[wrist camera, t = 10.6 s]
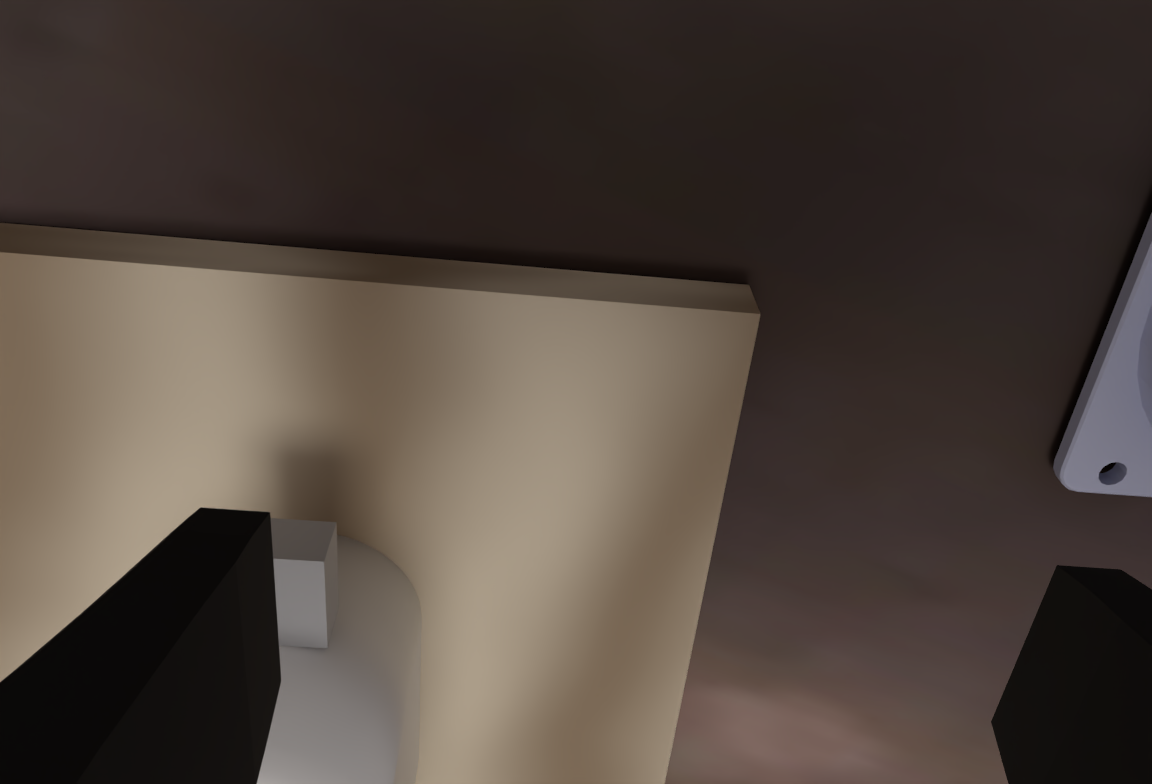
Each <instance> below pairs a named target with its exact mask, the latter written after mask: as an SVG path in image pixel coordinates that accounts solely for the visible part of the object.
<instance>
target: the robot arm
mask: <svg viewBox="0 0 1152 784" xmlns="http://www.w3.org/2000/svg"><path fill="white" fill-rule="evenodd" d="M1114 462H1117V463H1116V464H1115V466H1114V467H1113V468H1112V469H1111V470H1109V471H1107V472H1106V473H1099V472H1100V471H1101V470H1102V468H1103V467H1104V466H1106V465H1108V464H1110V463H1114ZM1053 469H1054V472H1055V475H1056V476H1057V478H1058V479H1059V480H1060V482H1061V483H1062V484H1063V485H1064V486H1065V487H1066V488H1067V489H1069V490H1073V491H1076V492H1087V493H1101V494H1115V495H1129V496H1143V497H1152V213H1151V215H1150V218H1149V221H1148V223H1147V226H1146V228H1145V231H1144V233H1143V236H1142V238H1141V241H1140V243H1139V246H1138V249H1137V251H1136V254H1135V256H1134V259H1133V261H1132V264H1131V266H1130V269H1129V271H1128V274H1127V277H1126V279H1125V282H1124V284H1123V287H1122V289H1121V292H1120V294H1119V297H1118V299H1117V302H1116V305H1115V307H1114V310H1113V312H1112V315H1111V317H1110V320H1109V322H1108V325H1107V327H1106V330H1105V332H1104V335H1103V338H1102V340H1101V343H1100V345H1099V348H1098V350H1097V353H1096V355H1095V358H1094V360H1093V363H1092V366H1091V368H1090V371H1089V373H1088V376H1087V378H1086V381H1085V383H1084V386H1083V388H1082V391H1081V394H1080V396H1079V399H1078V401H1077V404H1076V406H1075V409H1074V411H1073V414H1072V416H1071V419H1070V421H1069V424H1068V427H1067V429H1066V432H1065V434H1064V437H1063V439H1062V442H1061V444H1060V447H1059V449H1058V452H1057V455H1056V457H1055V460H1054V466H1053ZM280 684H281V669H280V653H279V638H278V623H277V608H276V593H275V577H274V562H273V547H272V532H271V517H270V512H261V511H246V510H231V509H216V508H202V507H201V508H199V509H198V510H197V511H196V512H194V513H193V514H192V515H191V516H189V517H188V518H187V519H186V520H185V521H184V522H182V523H181V524H180V525H179V526H178V527H177V528H176V529H174V530H173V531H172V532H171V533H170V534H169V535H168V536H167V537H166V538H164V539H163V540H162V541H161V542H160V543H159V544H158V545H157V546H156V547H154V548H153V549H152V550H151V551H150V552H149V553H148V554H147V555H146V556H145V557H143V558H142V559H141V560H140V561H139V562H138V563H137V564H136V565H135V566H134V567H132V568H131V569H130V570H129V571H128V572H127V573H126V574H125V575H124V576H123V577H121V578H120V579H119V580H118V581H117V582H116V583H115V584H114V585H112V586H111V587H110V588H109V589H108V590H107V591H106V592H105V593H103V594H102V595H101V596H100V597H99V598H98V599H97V600H96V601H95V602H93V603H92V604H91V605H90V606H89V607H88V608H87V609H86V610H84V611H83V612H82V613H81V614H80V615H79V616H77V617H76V618H75V619H74V620H73V621H72V622H70V623H69V624H68V625H67V626H66V627H65V628H63V629H62V630H61V631H60V632H59V633H58V634H56V635H55V636H54V637H53V638H52V639H51V640H49V641H48V642H47V643H46V644H45V645H44V646H42V647H41V648H40V649H39V650H38V651H37V652H35V653H34V654H33V655H32V656H31V657H30V658H28V659H27V660H26V661H25V662H24V663H23V664H21V665H20V666H19V667H18V668H17V669H15V670H14V671H13V672H12V673H11V674H9V675H8V676H7V677H6V678H5V679H3V680H2V681H1V682H0V784H257V780H258V776H259V772H260V768H261V764H262V760H263V756H264V752H265V748H266V744H267V740H268V736H269V732H270V727H271V723H272V719H273V714H274V710H275V706H276V701H277V697H278V693H279V688H280ZM991 723H992V726H993V730H994V734H995V737H996V741H997V744H998V748H999V751H1000V755H1001V759H1002V762H1003V766H1004V769H1005V773H1006V776H1007V780H1008V783H1009V784H1152V590H1151V589H1150V588H1148V587H1147V586H1146V585H1144V584H1142V583H1141V582H1139V581H1138V580H1136V579H1135V578H1133V577H1131V576H1130V575H1128V574H1127V573H1125V572H1124V571H1122V570H1118V569H1103V568H1089V567H1074V566H1059V565H1057V567H1056V569H1055V571H1054V574H1053V576H1052V578H1051V581H1050V583H1049V586H1048V588H1047V590H1046V593H1045V595H1044V597H1043V600H1042V602H1041V605H1040V607H1039V609H1038V612H1037V614H1036V616H1035V619H1034V621H1033V624H1032V626H1031V628H1030V631H1029V633H1028V635H1027V638H1026V640H1025V643H1024V645H1023V647H1022V650H1021V652H1020V654H1019V657H1018V659H1017V662H1016V664H1015V666H1014V669H1013V671H1012V674H1011V676H1010V678H1009V681H1008V683H1007V685H1006V688H1005V690H1004V693H1003V695H1002V697H1001V700H1000V702H999V704H998V707H997V709H996V712H995V714H994V716H993V719H992V721H991Z"/></svg>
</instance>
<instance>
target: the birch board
mask: <svg viewBox="0 0 1152 784" xmlns="http://www.w3.org/2000/svg"><path fill="white" fill-rule="evenodd" d="M760 315H761V314H760V311H759V309H758V306H757V304H756V301H755V299H754V296H753V294H752V291H751V289H750V286H749V285H744V284H732V283H720V282H708V281H696V280H684V279H672V278H660V277H647V276H635V275H623V274H611V273H599V272H587V271H575V270H563V269H551V268H539V267H527V266H515V265H503V264H491V263H479V262H467V261H455V260H443V259H431V258H419V257H407V256H395V255H383V254H371V253H359V252H347V251H334V250H322V249H310V248H298V247H286V246H274V245H262V244H250V243H238V242H226V241H214V240H202V239H190V238H178V237H166V236H154V235H142V234H130V233H118V232H106V231H94V230H82V229H70V228H58V227H46V226H34V225H21V224H9V223H0V682H1V681H2V680H3V679H5V678H6V677H7V676H8V675H9V674H11V673H12V672H13V671H14V670H15V669H17V668H18V667H19V666H20V665H21V664H23V663H24V662H25V661H26V660H27V659H28V658H30V657H31V656H32V655H33V654H34V653H35V652H37V651H38V650H39V649H40V648H41V647H42V646H44V645H45V644H46V643H47V642H48V641H49V640H51V639H52V638H53V637H54V636H55V635H56V634H58V633H59V632H60V631H61V630H62V629H63V628H65V627H66V626H67V625H68V624H69V623H70V622H72V621H73V620H74V619H75V618H76V617H77V616H79V615H80V614H81V613H82V612H83V611H84V610H86V609H87V608H88V607H89V606H90V605H91V604H92V603H93V602H95V601H96V600H97V599H98V598H99V597H100V596H101V595H102V594H103V593H105V592H106V591H107V590H108V589H109V588H110V587H111V586H112V585H114V584H115V583H116V582H117V581H118V580H119V579H120V578H121V577H123V576H124V575H125V574H126V573H127V572H128V571H129V570H130V569H131V568H132V567H134V566H135V565H136V564H137V563H138V562H139V561H140V560H141V559H142V558H143V557H145V556H146V555H147V554H148V553H149V552H150V551H151V550H152V549H153V548H154V547H156V546H157V545H158V544H159V543H160V542H161V541H162V540H163V539H164V538H166V537H167V536H168V535H169V534H170V533H171V532H172V531H173V530H174V529H176V528H177V527H178V526H179V525H180V524H181V523H182V522H184V521H185V520H186V519H187V518H188V517H189V516H191V515H192V514H193V513H194V512H196V511H197V510H198V509H199V508H201V507H202V508H216V509H231V510H246V511H261V512H270V517H271V518H277V519H293V520H309V521H325V522H336V526H337V535H340V536H345V537H348V538H351V539H354V540H357V541H359V542H361V543H364V544H366V545H368V546H370V547H372V548H374V549H375V550H377V551H379V552H381V553H382V554H384V555H385V556H386V557H388V558H389V559H390V560H392V561H393V562H394V563H395V564H396V565H397V566H398V567H399V568H400V569H401V570H402V571H403V572H404V574H405V575H406V576H407V577H408V579H409V580H410V582H411V584H412V585H413V587H414V589H415V591H416V593H417V596H418V598H419V602H420V607H421V617H422V623H421V674H420V724H419V760H418V768H417V775H416V781H415V784H665V779H666V774H667V769H668V764H669V759H670V755H671V750H672V745H673V740H674V735H675V730H676V725H677V720H678V715H679V711H680V706H681V701H682V696H683V691H684V686H685V681H686V676H687V671H688V667H689V662H690V657H691V652H692V647H693V642H694V637H695V632H696V627H697V623H698V618H699V613H700V608H701V603H702V598H703V593H704V588H705V583H706V579H707V574H708V569H709V564H710V559H711V554H712V549H713V544H714V539H715V535H716V530H717V525H718V520H719V515H720V510H721V505H722V500H723V495H724V491H725V486H726V481H727V476H728V471H729V466H730V461H731V456H732V451H733V447H734V442H735V437H736V432H737V427H738V422H739V417H740V412H741V407H742V403H743V398H744V393H745V388H746V383H747V378H748V373H749V368H750V364H751V359H752V354H753V349H754V344H755V339H756V334H757V329H758V324H759V320H760Z"/></svg>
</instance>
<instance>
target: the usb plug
mask: <svg viewBox="0 0 1152 784" xmlns="http://www.w3.org/2000/svg"><path fill="white" fill-rule="evenodd" d="M271 532H272V547H273V562H274V577H275V593H276V608H277V623H278V638H279V653H280V669H281V684H280V688H279V693H278V697H277V701H276V706H275V710H274V714H273V719H272V723H271V727H270V732H269V736H268V740H267V744H266V748H265V752H264V756H263V760H262V764H261V768H260V772H259V776H258V780H257V784H415V781H416V775H417V768H418V760H419V724H420V674H421V623H422V617H421V607H420V602H419V598H418V596H417V593H416V591H415V589H414V587H413V585H412V584H411V582H410V580H409V579H408V577H407V576H406V575H405V574H404V572H403V571H402V570H401V569H400V568H399V567H398V566H397V565H396V564H395V563H394V562H393V561H392V560H390V559H389V558H388V557H386V556H385V555H384V554H382V553H381V552H379V551H377V550H375V549H374V548H372V547H370V546H368V545H366V544H364V543H361V542H359V541H357V540H354V539H351V538H348V537H345V536H340V535H337V526H336V522H325V521H309V520H293V519H277V518H271Z"/></svg>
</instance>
